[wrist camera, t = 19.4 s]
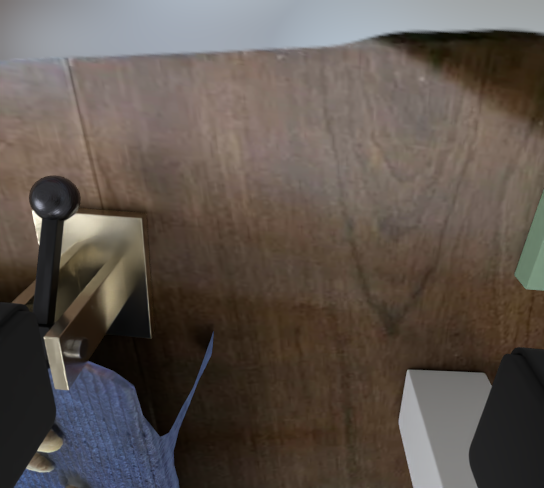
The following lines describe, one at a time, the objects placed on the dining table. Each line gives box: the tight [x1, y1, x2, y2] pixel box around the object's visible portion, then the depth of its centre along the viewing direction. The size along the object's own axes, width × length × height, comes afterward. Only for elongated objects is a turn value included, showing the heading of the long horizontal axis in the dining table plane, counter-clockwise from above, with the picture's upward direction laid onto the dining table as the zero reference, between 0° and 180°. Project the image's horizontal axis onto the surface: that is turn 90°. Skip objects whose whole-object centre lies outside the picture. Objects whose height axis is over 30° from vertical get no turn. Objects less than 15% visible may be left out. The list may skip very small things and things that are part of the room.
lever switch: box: [29, 176, 81, 369], centre depth 31 cm, size 13×3×3 cm, turn 177°
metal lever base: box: [12, 208, 155, 390], centre depth 34 cm, size 12×9×12 cm
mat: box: [14, 331, 214, 488], centre depth 50 cm, size 45×27×12 cm, turn 1°
